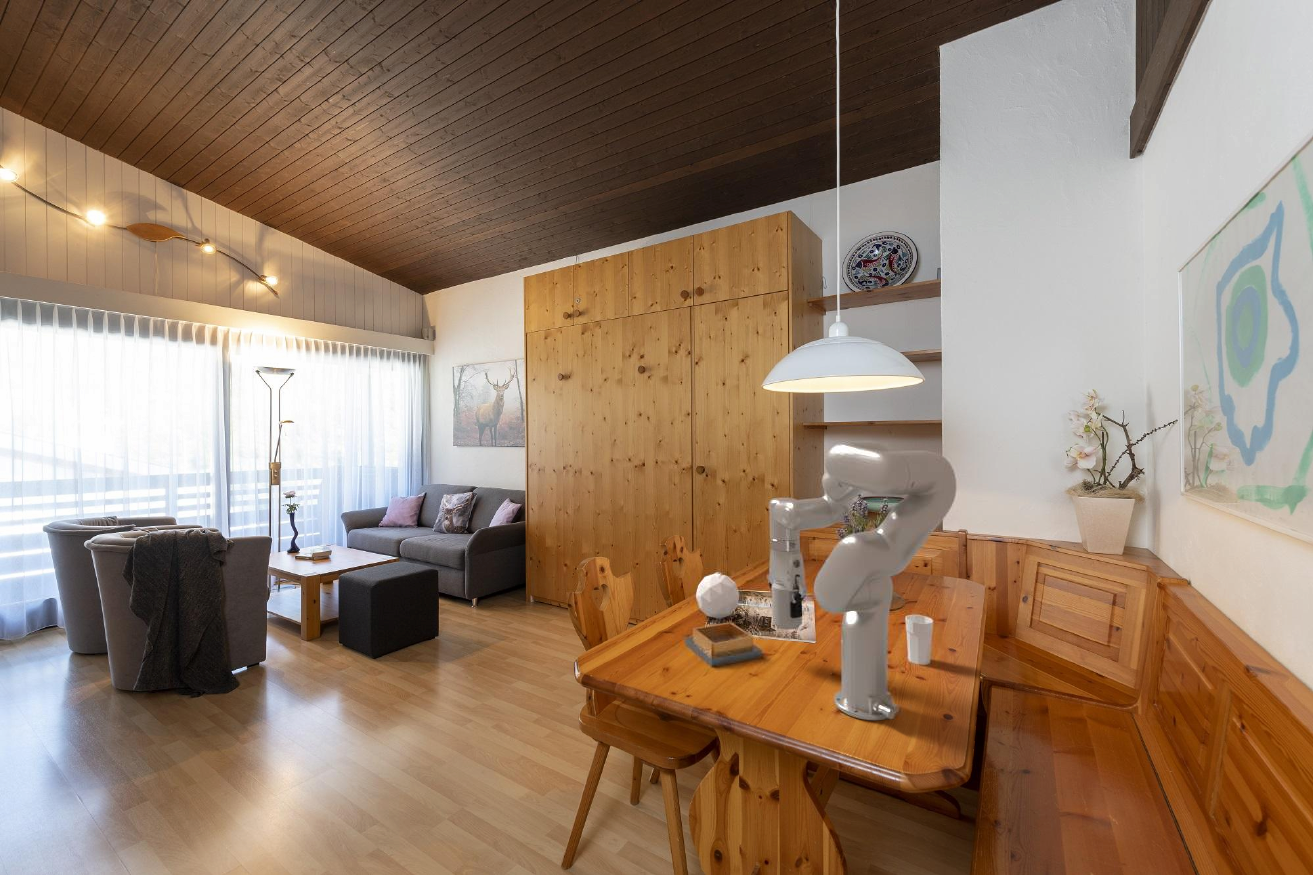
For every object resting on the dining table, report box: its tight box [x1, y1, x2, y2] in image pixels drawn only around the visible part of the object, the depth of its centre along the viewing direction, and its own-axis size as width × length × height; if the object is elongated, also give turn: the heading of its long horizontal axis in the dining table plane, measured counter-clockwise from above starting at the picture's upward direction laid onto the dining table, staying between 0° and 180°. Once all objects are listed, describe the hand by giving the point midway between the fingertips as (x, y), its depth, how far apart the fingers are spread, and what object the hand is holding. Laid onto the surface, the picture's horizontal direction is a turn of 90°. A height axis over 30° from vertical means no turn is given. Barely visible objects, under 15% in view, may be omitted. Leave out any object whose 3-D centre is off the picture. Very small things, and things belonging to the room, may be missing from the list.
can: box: [771, 580, 803, 630], centre depth 148 cm, size 8×8×12 cm
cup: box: [905, 614, 934, 666], centre depth 148 cm, size 7×7×11 cm
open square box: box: [684, 622, 763, 668], centre depth 156 cm, size 16×15×5 cm
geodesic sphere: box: [695, 571, 740, 620], centre depth 184 cm, size 15×14×14 cm
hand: (787, 612), depth 148 cm, fingers closed on can, 7 cm apart
